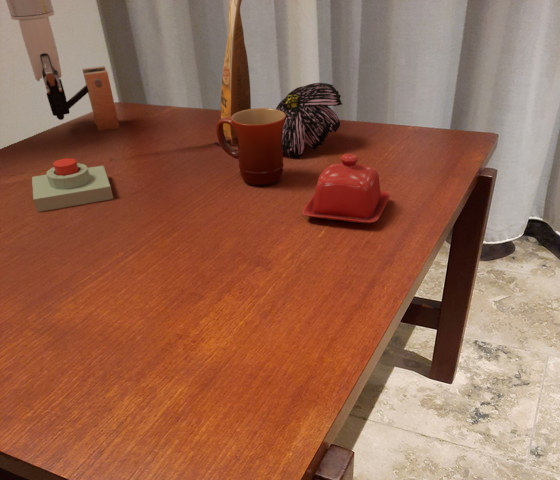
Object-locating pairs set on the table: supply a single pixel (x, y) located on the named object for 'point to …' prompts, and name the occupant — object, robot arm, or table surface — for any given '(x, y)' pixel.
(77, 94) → the lever
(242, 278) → the table surface
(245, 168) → the mug
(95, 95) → the bracket
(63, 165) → the button
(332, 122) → the decorative flower
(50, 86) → the robot arm
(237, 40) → the pancake mix bag
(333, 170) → the butter dish
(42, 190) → the button housing
